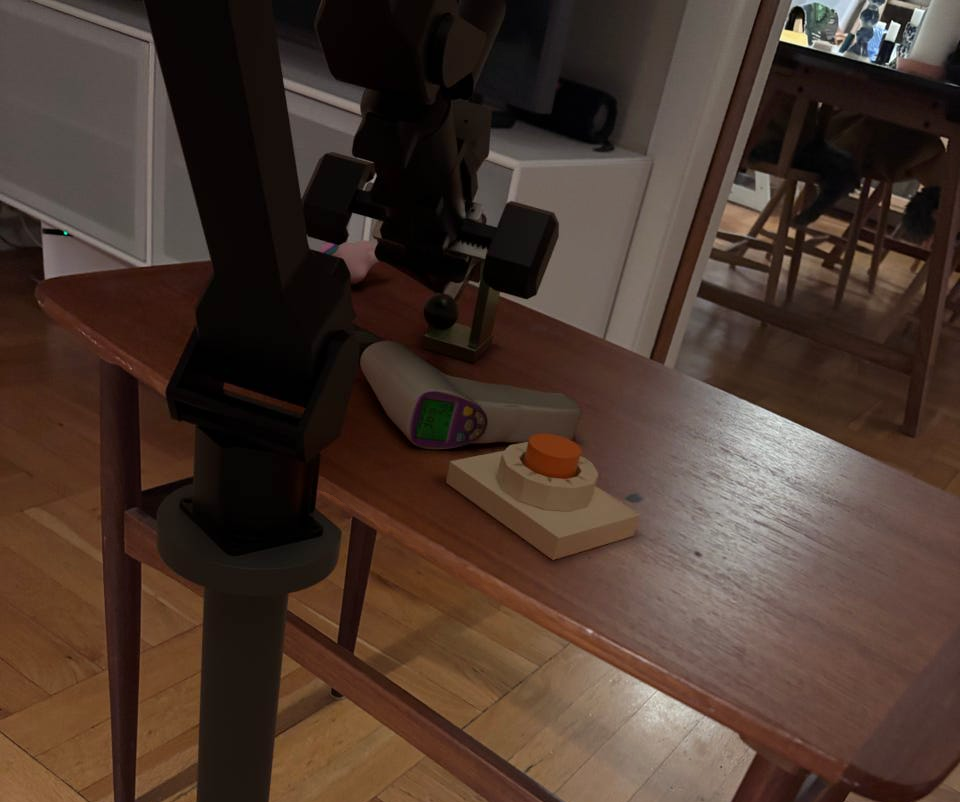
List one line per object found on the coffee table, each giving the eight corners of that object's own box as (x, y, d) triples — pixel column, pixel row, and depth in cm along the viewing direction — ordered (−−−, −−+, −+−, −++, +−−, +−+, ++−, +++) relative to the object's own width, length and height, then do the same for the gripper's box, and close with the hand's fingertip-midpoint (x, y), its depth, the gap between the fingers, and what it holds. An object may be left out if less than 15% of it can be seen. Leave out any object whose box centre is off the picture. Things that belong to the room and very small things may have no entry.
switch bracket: (478, 364, 89) (499, 254, 83) (417, 346, 90) (434, 236, 84) (496, 347, 94) (518, 242, 88) (438, 330, 94) (455, 224, 89)
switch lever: (450, 341, 83) (452, 312, 80) (417, 331, 83) (418, 302, 81) (493, 270, 89) (495, 240, 86) (462, 261, 89) (464, 232, 87)
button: (548, 485, 64) (554, 461, 63) (512, 460, 66) (517, 437, 65) (585, 476, 66) (592, 453, 65) (549, 453, 68) (555, 430, 67)
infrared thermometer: (576, 457, 78) (409, 453, 71) (505, 395, 86) (348, 384, 79) (594, 404, 76) (423, 393, 68) (519, 344, 84) (359, 329, 76)
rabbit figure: (313, 318, 94) (409, 275, 104) (311, 257, 90) (412, 218, 100) (265, 297, 96) (364, 257, 106) (262, 237, 92) (365, 200, 102)
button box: (552, 560, 62) (565, 512, 60) (445, 482, 68) (454, 436, 66) (633, 536, 67) (648, 491, 65) (526, 465, 73) (537, 422, 71)
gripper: (586, 90, 65) (579, 234, 81) (331, 25, 68) (371, 177, 83) (532, 231, 63) (534, 352, 79) (271, 158, 66) (322, 289, 81)
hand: (440, 287), depth 80 cm, fingers closed
